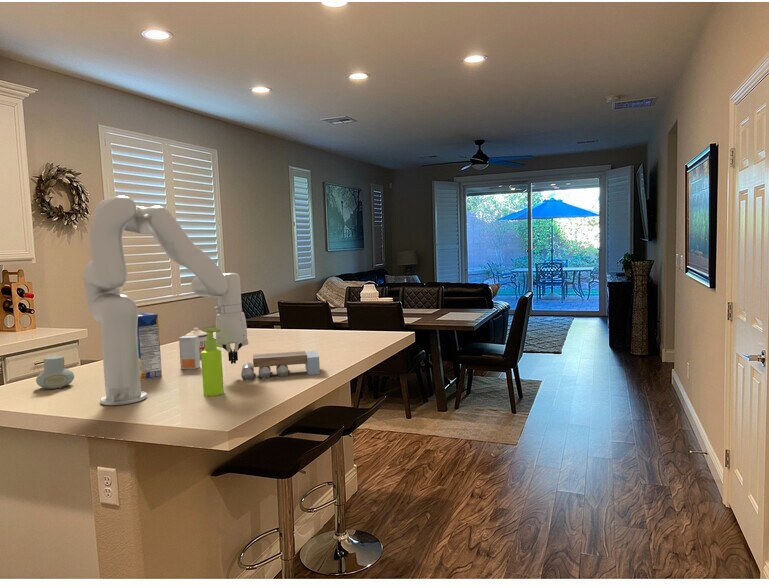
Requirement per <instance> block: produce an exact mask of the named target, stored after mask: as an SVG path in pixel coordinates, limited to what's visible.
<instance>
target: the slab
mask: <svg viewBox="0 0 769 588" xmlns="http://www.w3.org/2000/svg"><path fill="white" fill-rule="evenodd" d="M306 352H307V351H305V350H301V351H300V350H299V351H287V352H286V351H283V352H269V353H253V355H252V364H253V367H254V368H259V367H266V366H270V367H276V366H281V365H287V366H294V365H295V366H296V365H305V364H307V354H306Z"/></svg>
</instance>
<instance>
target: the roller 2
mask: <svg viewBox="0 0 769 588" xmlns="http://www.w3.org/2000/svg"><path fill="white" fill-rule="evenodd" d="M288 366H289V365H281V366H275V368H276V369H275V370H276V374H277V376H278V377H279V378H287V377H288V376H289V375H290V374H289V372H290V370H289V367H288Z"/></svg>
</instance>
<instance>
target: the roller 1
mask: <svg viewBox="0 0 769 588" xmlns="http://www.w3.org/2000/svg"><path fill="white" fill-rule="evenodd" d="M254 372H255V367H253V363H251V362H245V363H244V364H243V365H242V367H241V374H240V375H241V378H242V380H244V381H251V380H252V379H253V377H254V375H255V373H254Z"/></svg>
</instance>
